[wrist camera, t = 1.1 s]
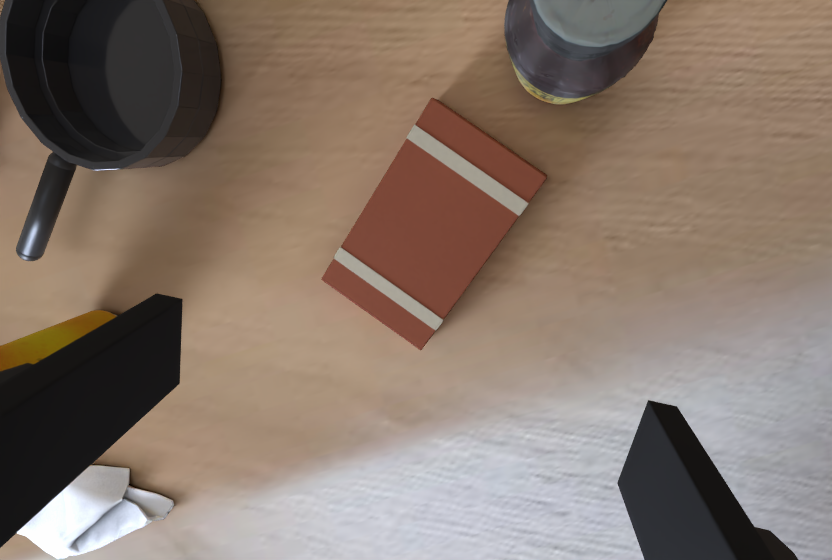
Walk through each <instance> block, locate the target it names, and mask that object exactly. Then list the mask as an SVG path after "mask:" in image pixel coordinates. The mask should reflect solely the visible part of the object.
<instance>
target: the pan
mask: <svg viewBox="0 0 832 560" xmlns="http://www.w3.org/2000/svg"><path fill="white" fill-rule="evenodd" d="M0 60H1V64H2V69H3V73H4V78H5V82H6V86H7V89H8V92H9V94H10V96H11V98H12V100H13V102H14V104H15V106H16V108H17V110H18V112H19V114H20V117H21V118H22V120H23V121H24V122H25V123H26V124H27V126H28V127H29V128H30V129H31V131H32V132H33V133H34V134H35V135H36V137H37V138H38V139H39V140H40V142H41V143H43V145H45V146H46V147H48V148H49V149H50V150H52V151H53V152H54V153H56V154H57V155H59V156H60V157H61V158H63V159H64V160H66V161H68V162H70V163H73V164H76V165H79V166H82V167H85V168H88V169H91V170H95V171H96V170H118V169H133V168H147V167H160V166H165V165H167V164H169V163H171V162H174V161H176V160H178V159H180V158H182V157H185V156H186V155H187V154H188V153H189V152H190V151H191V150H192V149H193V148H194V147H195V146H196V145H197V144H198V143H199V142H200V141H201V140H202V139H203V138H204V136H205V135H206V133H207V131H208V129H209V127H210V125H211V122H212V120H213V118H214V116H215V114H216V112H217V108H218V101H219V93H220V86H221V72H220V65H219V57H218V49H217V44H216V41H215V39H214V36H213V34H212V31H211V29H210V27H209V24H208V22H207V19H206V17H205V14H204V13H203V11H202V10H201V9H200V8H199V6H198V5H197V4H196V2H195V1H194V0H5V2H4V5H3V9H2V12H1V16H0Z"/></svg>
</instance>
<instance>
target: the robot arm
mask: <svg viewBox="0 0 832 560" xmlns="http://www.w3.org/2000/svg"><path fill="white" fill-rule="evenodd" d="M181 327H182V299H180V298H175V297H171V296H166V295H162V294H155V295H153V296H151V297H150V298H148V299H146V300H145V301H143V302H141V303H139V304H138V305H136V306H134V307H132V308H131V309H129V310H127V311H125V312H124V313H122V314H120V315H118V316H117V317H115V318H113V319H112V320H110V321H108V322H106V323H105V324H103V325H101V326H99V327H98V328H96V329H94V330H92V331H91V332H89V333H87V334H86V335H84V336H82V337H80V338H79V339H77V340H75V341H73V342H72V343H70V344H68V345H66V346H65V347H63V348H61V349H59V350H58V351H56V352H54V353H53V354H51V355H49V356H47V357H46V358H44V359H42V360H40V361H39V362H37V363H35V364H31V363H25V364H22V365H19V366H16V367H13V368H10V369H6V370H3V371H0V547H2V546H3V545H4V544H5V543H6V542H7V541H8V540H9V539H10V538H11V537H12V536H14V535H15V534H16V533H17V532H18V531H19V530H20V529H21V528H22V527H23V526H24V525H26V524H27V523H28V522H29V521H30V520H31V519H32V518H33V517H34V516H35V515H37V514H38V513H39V512H40V511H41V510H42V509H43V508H44V507H45V506H46V505H47V504H49V503H50V502H51V501H52V500H53V499H54V498H55V497H56V496H57V495H58V494H59V493H61V492H62V491H63V490H64V489H65V488H66V487H67V486H68V485H69V484H70V483H71V482H73V481H74V480H75V479H76V478H77V477H78V476H79V475H80V474H81V473H82V472H83V471H85V470H86V469H87V468H88V467H89V466H90V465H91V464H92V463H93V462H94V461H95V460H97V459H98V458H99V457H100V456H101V455H102V454H103V453H104V452H105V451H106V450H107V449H109V448H110V447H111V446H112V445H113V444H114V443H115V442H116V441H117V440H118V439H119V438H121V437H122V436H123V435H124V434H125V433H126V432H127V431H128V430H129V429H130V428H131V427H133V426H134V425H135V424H136V423H137V422H138V421H139V420H140V419H141V418H142V417H143V416H145V415H146V414H147V413H148V412H149V411H150V410H151V409H152V408H153V407H154V406H156V405H157V404H158V403H159V402H160V401H161V400H162V399H163V398H164V397H165V396H166V395H168V394H169V393H170V392H171V391H172V390H173V389H174V388H175V387H176V386H177V385H178V384H179V383H180V355H181ZM618 486H619V489H620V491H621V494H622V497H623V500H624V503H625V506H626V508H627V511H628V514H629V517H630V520H631V522H632V525H633V528H634V531H635V534H636V537H637V539H638V542H639V545H640V548H641V551H642V553H643V556H644V559H645V560H798V559H797V557H796V556H795V554H794V553H793V552H792V551H791V550H790V549H789V548H788V547H787V546H786V545H785V544H784V543H783V542H782V541H780V540H779V539H778V538H777V537H776V536H775V535H774V534H773V533H772V532H771V531H769V530H765V529H761V528H756V527H754V526H753V524H752V523H751V521H750V520H749V518H748V516H747V515H746V513H745V512H744V510H743V509H742V507H741V506H740V504H739V502H738V501H737V499H736V498H735V496H734V495H733V493H732V492H731V490H730V488H729V487H728V485H727V484H726V482H725V481H724V479H723V478H722V476H721V474H720V473H719V471H718V470H717V468H716V467H715V465H714V464H713V462H712V460H711V459H710V457H709V456H708V454H707V453H706V451H705V450H704V448H703V446H702V445H701V443H700V442H699V440H698V439H697V437H696V436H695V434H694V432H693V431H692V429H691V428H690V426H689V425H688V423H687V421H686V420H685V418H684V417H683V415H682V414H681V412H680V411H679V409H678V407H677V406H672V405H667V404H663V403H658V402H654V401H649V400H648V402H647V405H646V408H645V410H644V413H643V416H642V418H641V421H640V424H639V426H638V429H637V432H636V435H635V437H634V440H633V443H632V445H631V448H630V451H629V453H628V456H627V459H626V461H625V464H624V467H623V469H622V472H621V475H620V477H619V480H618Z"/></svg>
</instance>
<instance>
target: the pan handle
mask: <svg viewBox="0 0 832 560" xmlns="http://www.w3.org/2000/svg"><path fill="white" fill-rule="evenodd" d="M76 166H77V165H76V164H73V163H70V162H68V161H66V160H64V159H63V158H61V157H60V156H59V155H57V154H56V153H54V152H53V153H51V154H50V155H49V157H48V159H47V162H46V165H45V168H44V171H43V173H42V176H41V179H40V182H39V185H38V188H37V190H36V193H35V196H34V199H33V202H32V204H31V207H30V210H29V213H28V216H27V218H26V221H25V224H24V227H23V230H22V233H21V235H20V238H19V241H18V244H17V247H16V252H17V254H18V256H19V257H20V258H22V259H23V260H26V261H35V260H38V259H39V258H41V257H42V256H43V254H44V251H45V249H46V246H47V243H48V241H49V238H50V236H51V233H52V230H53V228H54V225H55V222H56V220H57V217H58V214H59V212H60V209H61V206H62V204H63V201H64V199H65V196H66V193H67V191H68V188H69V185H70V183H71V180H72V177H73V175H74V172H75V170H76Z"/></svg>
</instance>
